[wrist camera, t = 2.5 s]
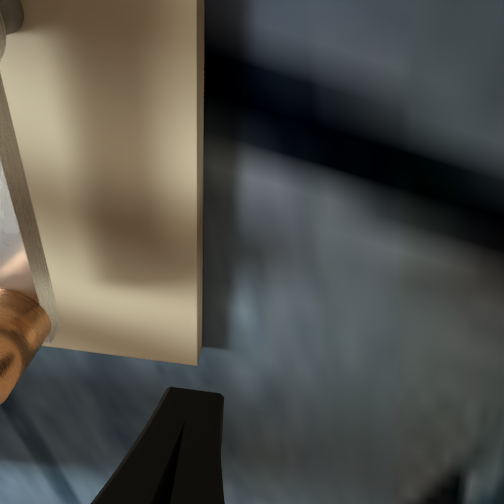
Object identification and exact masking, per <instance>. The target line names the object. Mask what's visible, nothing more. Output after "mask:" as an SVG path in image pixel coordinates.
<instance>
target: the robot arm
mask: <svg viewBox="0 0 504 504" xmlns="http://www.w3.org/2000/svg"><path fill="white" fill-rule="evenodd" d="M223 409H224V397H223V396H222V395H221V394H220V393H212V392H205V391H198V390H190V389H183V388H176V387H169V388H168V389H166V391H165V393H164V395H163V397H162V399H161V400H160V402H159V404H158V406H157V408H156V409H155V411H154V413H153V415H152V416H151V418H150V420H149V421H148V423H147V424H146V426H145V428H144V429H143V431H142V432H141V434H140V435H139V437H138V439H137V440H136V442H135V443H134V445H133V446H132V448H131V449H130V450H129V452H128V453H127V455H126V456H125V458H124V459H123V461H122V462H121V464H120V465H119V466H118V468H117V469H116V471H115V472H114V474H113V475H112V476H111V478H110V479H109V480H108V482H107V483H106V484H105V486H104V487H103V488H102V490H101V491H100V492H99V493H98V495H97V496H96V497H95V499H94V500H93V501H92V503H91V504H225V502H224V493H223V481H222V469H221V442H222V428H223Z"/></svg>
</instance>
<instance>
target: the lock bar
mask: <svg viewBox="0 0 504 504" xmlns="http://www.w3.org/2000/svg"><path fill="white" fill-rule="evenodd" d="M5 47H6V30H5V24H4V20H3V16H2V14H1V11H0V61H1V59H2V57H3V54H4V51H5ZM61 326H62V324H61V320H60V316H59V312H58V308H57V304H56V300H55V295H54V291H53V287H52V283H51V279H50V275H49V271H48V267H47V263H46V258H45V254H44V250H43V246H42V242H41V238H40V234H39V230H38V225H37V221H36V217H35V213H34V209H33V205H32V201H31V197H30V192H29V188H28V184H27V180H26V176H25V172H24V168H23V164H22V160H21V155H20V151H19V147H18V143H17V139H16V135H15V131H14V127H13V122H12V118H11V114H10V110H9V106H8V102H7V98H6V94H5V90H4V85H3V81H2V77H1V73H0V404H1V403H3V402H4V401H5V400H6V399H7V397H8V396H9V394H10V393H11V391H12V390H13V388H14V386H15V385H16V383H17V382H18V380H19V379H20V377H21V376H22V374H23V373H24V371H25V370H26V368H27V367H28V365H29V364H30V362H31V361H32V359H33V358H34V356H35V355H36V353H37V352H38V350H39V349H40V347H41V346H42V344H43V343H49V344H51V342H52V340H53V339H54V337H55V336H56V334H57V333H58V331H59V330H60V328H61Z"/></svg>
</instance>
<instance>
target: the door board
mask: <svg viewBox="0 0 504 504" xmlns="http://www.w3.org/2000/svg"><path fill="white" fill-rule="evenodd" d="M0 11H1V14H2V16H3V20H4V24H5V30H6V47H5V51H4V54H3V57H2V59H1V61H0V73H1V77H2V81H3V85H4V90H5V94H6V98H7V102H8V106H9V110H10V114H11V118H12V122H13V127H14V131H15V135H16V139H17V143H18V147H19V151H20V155H21V160H22V164H23V168H24V172H25V176H26V180H27V184H28V188H29V192H30V197H31V201H32V205H33V209H34V213H35V217H36V221H37V225H38V230H39V234H40V238H41V242H42V246H43V250H44V254H45V258H46V263H47V267H48V271H49V275H50V279H51V283H52V287H53V291H54V295H55V300H56V304H57V308H58V312H59V316H60V320H61V324H62V326H61V328H60V330H59V331H58V333H57V334H56V336H55V337H54V339H53V340H52V342H51V344H49V343H43V344H42V346H49V347H57V348H64V349H72V350H80V351H87V352H95V353H103V354H110V355H118V356H126V357H134V358H141V359H149V360H157V361H164V362H172V363H180V364H187V365H195V366H197V364H198V361H199V357H200V353H201V349H202V270H203V132H204V0H0Z"/></svg>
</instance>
